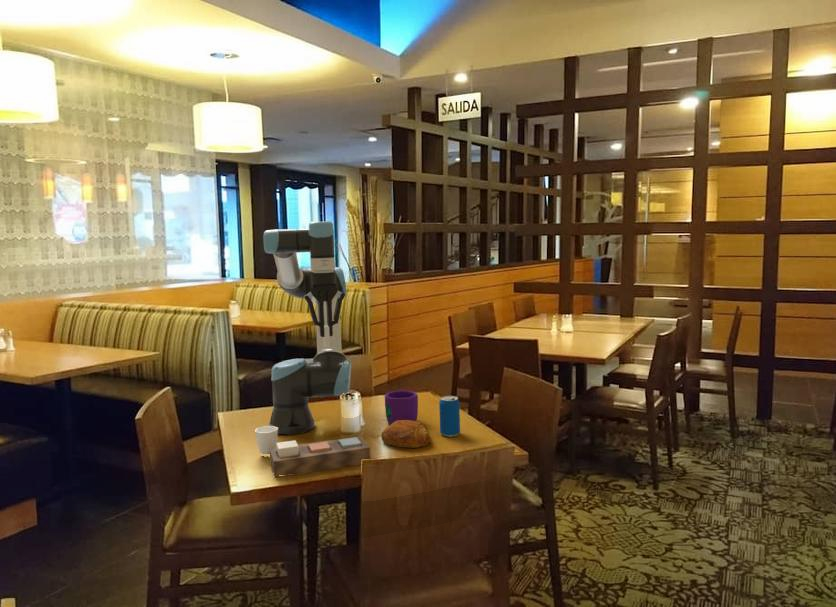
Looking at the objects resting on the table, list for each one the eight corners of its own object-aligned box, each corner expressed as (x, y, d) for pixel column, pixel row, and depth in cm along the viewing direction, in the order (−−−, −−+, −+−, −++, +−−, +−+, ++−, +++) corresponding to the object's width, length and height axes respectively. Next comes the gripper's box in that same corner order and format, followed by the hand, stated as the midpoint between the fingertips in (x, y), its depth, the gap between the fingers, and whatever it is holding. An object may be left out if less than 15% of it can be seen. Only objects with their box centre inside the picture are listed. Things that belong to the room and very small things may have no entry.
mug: (424, 424, 217) (423, 395, 216) (393, 429, 212) (392, 400, 211) (403, 411, 233) (402, 385, 231) (374, 416, 228) (373, 389, 227)
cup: (258, 460, 187) (256, 434, 186) (252, 450, 196) (251, 425, 195) (282, 456, 189) (280, 430, 189) (275, 446, 199) (274, 421, 198)
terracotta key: (312, 465, 180) (311, 450, 179) (309, 458, 185) (308, 444, 184) (331, 462, 181) (330, 447, 181) (327, 456, 186) (326, 441, 186)
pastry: (416, 459, 190) (418, 434, 188) (373, 445, 198) (375, 421, 196) (439, 443, 202) (441, 420, 201) (398, 430, 210) (400, 407, 208)
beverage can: (458, 437, 201) (457, 401, 200) (438, 437, 203) (437, 400, 201) (461, 431, 208) (460, 395, 206) (441, 430, 209) (440, 395, 208)
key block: (274, 477, 174) (273, 461, 173) (270, 463, 184) (269, 448, 183) (370, 462, 182) (369, 447, 182) (361, 450, 193) (360, 436, 192)
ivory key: (279, 464, 176) (278, 448, 176) (277, 457, 182) (276, 442, 181) (299, 461, 178) (298, 446, 178) (296, 455, 183) (295, 440, 183)
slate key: (343, 460, 182) (342, 445, 182) (339, 454, 188) (338, 440, 187) (361, 457, 184) (361, 443, 184) (357, 451, 189) (356, 437, 189)
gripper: (304, 273, 191) (308, 350, 193) (346, 271, 195) (350, 346, 198) (300, 272, 198) (304, 346, 201) (341, 270, 202) (344, 343, 205)
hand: (326, 346), depth 199 cm, fingers closed
